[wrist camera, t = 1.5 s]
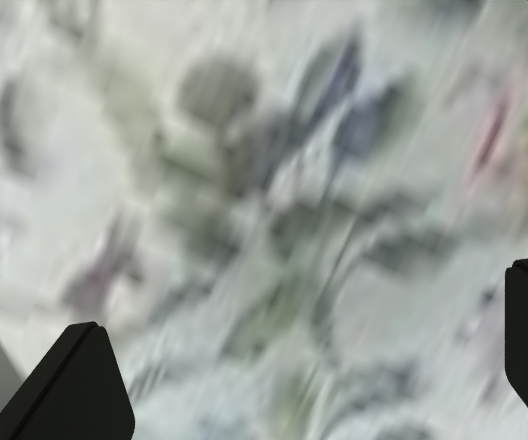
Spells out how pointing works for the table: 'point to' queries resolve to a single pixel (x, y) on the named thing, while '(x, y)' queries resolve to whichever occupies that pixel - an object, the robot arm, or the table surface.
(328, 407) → the table surface
